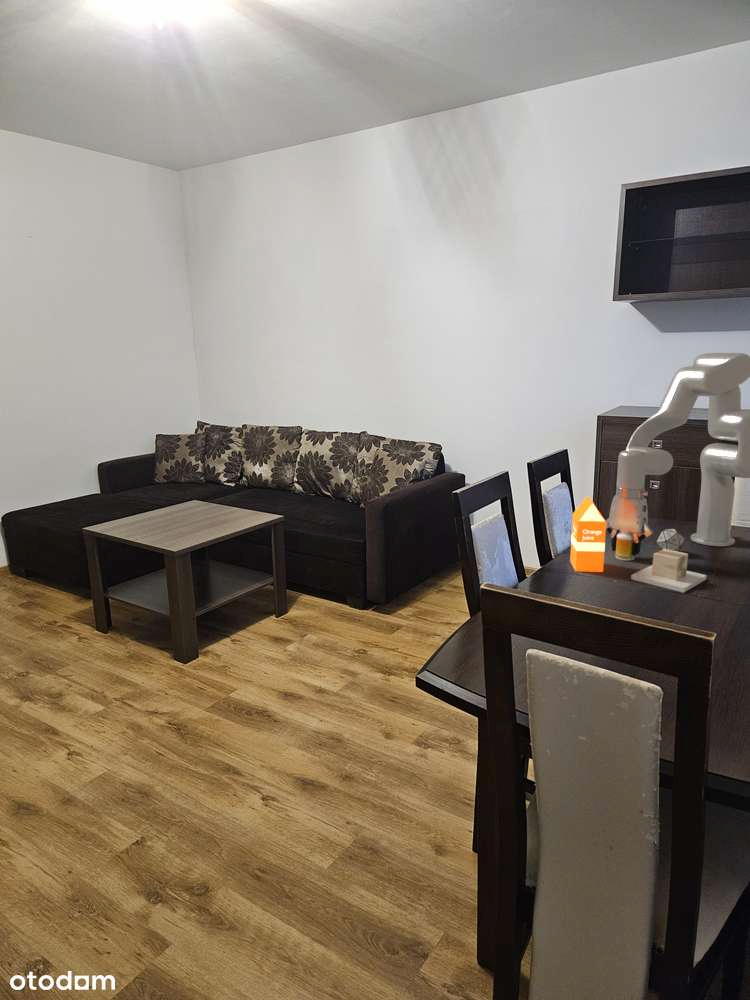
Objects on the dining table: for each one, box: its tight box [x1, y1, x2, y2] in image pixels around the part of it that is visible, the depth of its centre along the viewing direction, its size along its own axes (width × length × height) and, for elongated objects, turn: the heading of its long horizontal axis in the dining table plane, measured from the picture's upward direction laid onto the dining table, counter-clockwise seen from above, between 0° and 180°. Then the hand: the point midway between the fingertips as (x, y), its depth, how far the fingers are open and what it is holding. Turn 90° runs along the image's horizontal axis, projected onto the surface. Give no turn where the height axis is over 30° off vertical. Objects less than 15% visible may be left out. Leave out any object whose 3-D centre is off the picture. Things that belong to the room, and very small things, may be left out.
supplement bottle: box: [614, 530, 636, 562], centre depth 190 cm, size 5×5×10 cm
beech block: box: [652, 549, 689, 581], centre depth 172 cm, size 6×6×6 cm
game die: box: [653, 526, 689, 552], centre depth 194 cm, size 9×8×10 cm
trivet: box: [630, 564, 708, 594], centre depth 172 cm, size 14×14×1 cm
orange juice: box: [569, 495, 607, 573], centre depth 182 cm, size 8×9×20 cm
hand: (625, 551), depth 190 cm, fingers closed on supplement bottle, 5 cm apart
